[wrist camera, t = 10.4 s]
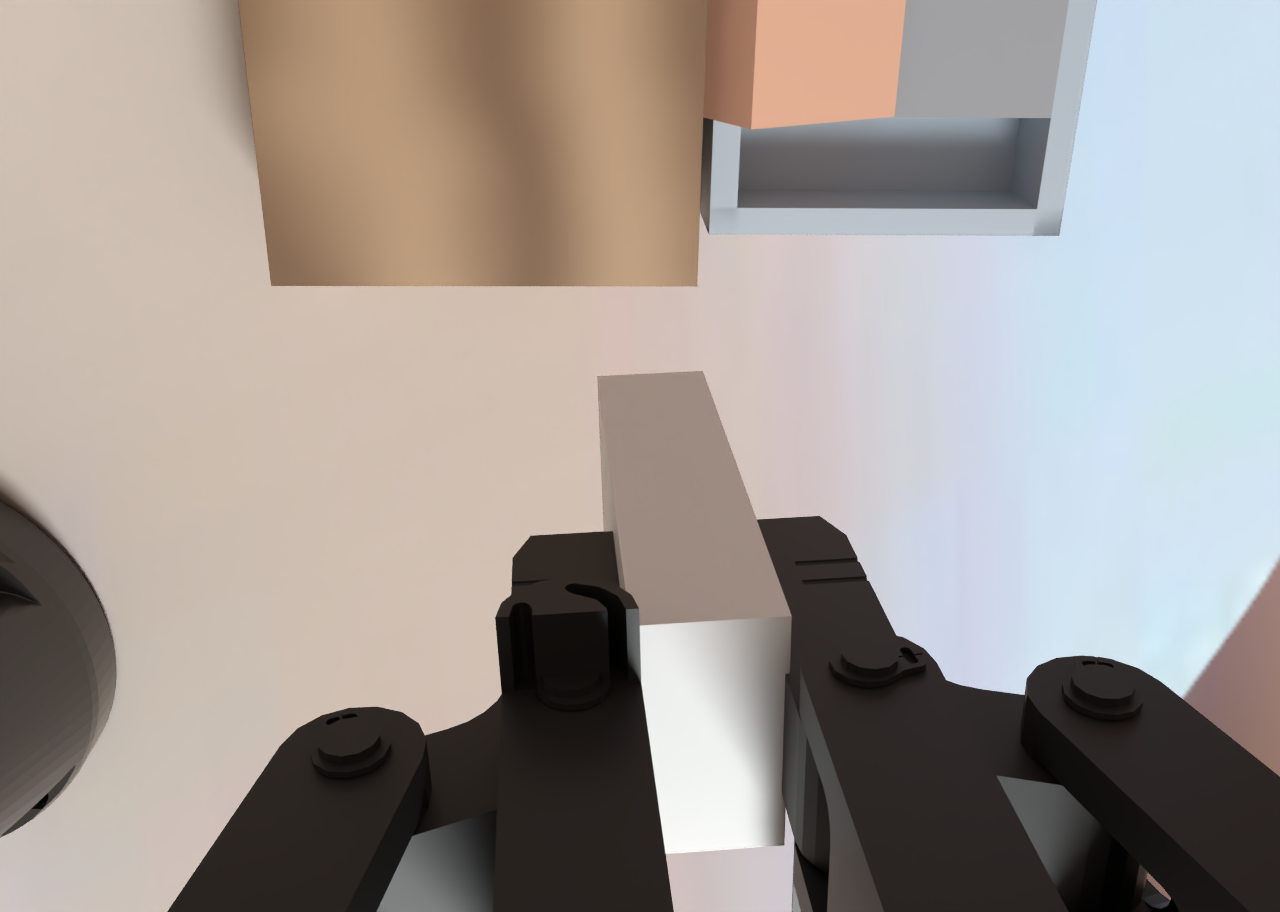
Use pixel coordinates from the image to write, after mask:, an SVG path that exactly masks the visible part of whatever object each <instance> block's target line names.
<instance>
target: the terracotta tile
mask: <svg viewBox="0 0 1280 912" xmlns="http://www.w3.org/2000/svg"><path fill="white" fill-rule="evenodd" d="M905 6H906V0H707V22H706V50H705V78H704V106H703V117H704V118H708V119H712V120H716V121H720V122H724V123H727V124H731V125H735V126H739V127H743V128H747V129H762V128H774V127H785V126H796V125H807V124H818V123H829V122H840V121H851V120H863V119H874V118H885V117H895V107H896V97H897V87H898V77H899V67H900V56H901V46H902V36H903V26H904V16H905Z"/></svg>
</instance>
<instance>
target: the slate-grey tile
mask: <svg viewBox="0 0 1280 912" xmlns="http://www.w3.org/2000/svg"><path fill="white" fill-rule="evenodd" d="M1068 3H1069V0H906V6H905V16H904V26H903V36H902V46H901V56H900V67H899V77H898V87H897V97H896V107H895V117H952V118H1051V115H1052V109H1053V102H1054V96H1055V89H1056V82H1057V76H1058V69H1059V63H1060V56H1061V49H1062V43H1063V36H1064V30H1065V23H1066V17H1067V10H1068Z"/></svg>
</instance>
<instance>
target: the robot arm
mask: <svg viewBox="0 0 1280 912" xmlns="http://www.w3.org/2000/svg"><path fill="white" fill-rule="evenodd" d="M597 378H598V402H599V427H600V451H601V475H602V499H603V523H604V532H589V533H571V534H554V535H537V536H530V537H529V539H528V540H527V541H526V542H525V544H524V545H523V546H522V547H521V548H520V550H519V551H518V552H517V553H516V554H515V556H514V557H513V566H512V593H511V596H509V597H508V598H507V599H506V600H505V601H503V602H502V603H501V605H500V608H499V610H498V613H497V615H496V617H495V619H496V631H497V643H498V654H499V666H500V677H501V689H502V695H501V696H500V698H499V699H498V701H497V702H495V703H494V704H493V705H492V706H491V707H490V708H489V709H487V710H486V711H485V712H484V713H482V714H480V715H479V716H477V717H475V718H473V719H472V720H470V721H468V722H466V723H463V724H460V725H458V726H455V727H452V728H449V729H446V730H443V731H439V732H436V733H432V734H429V735H424V733H423V731H422V729H421V727H420V725H419V723H417V722H416V721H414V720H413V719H411V718H410V717H408V716H407V715H405V714H404V713H402V712H399V711H394V710H389V709H385V708H380V707H362V708H348V709H344V710H340V711H336V712H333V713H329V714H326V715H322V716H320V717H318V718H316V719H314V720H313V721H311V722H309V723H307V724H305V725H303V726H301V727H300V728H298V729H297V730H296V731H295V732H294V733H293V734H292V735H291V736H290V737H289V738H288V739H287V740H286V741H285V742H284V743H283V744H282V745H281V746H280V747H279V748H278V750H277V751H276V753H275V754H274V756H273V757H272V759H271V760H270V762H269V763H268V765H267V766H266V768H265V769H264V771H263V772H262V773H261V775H260V776H259V778H258V779H257V781H256V782H255V784H254V785H253V787H252V788H251V790H250V791H249V793H248V794H247V796H246V797H245V798H244V800H243V801H242V803H241V804H240V806H239V807H238V809H237V810H236V812H235V813H234V815H233V816H232V818H231V819H230V820H229V822H228V823H227V825H226V826H225V828H224V829H223V831H222V832H221V834H220V835H219V837H218V838H217V840H216V841H215V843H214V844H213V845H212V847H211V848H210V850H209V851H208V853H207V854H206V856H205V857H204V859H203V860H202V862H201V863H200V865H199V866H198V868H197V869H196V870H195V872H194V873H193V875H192V876H191V878H190V879H189V881H188V882H187V884H186V885H185V887H184V888H183V890H182V891H181V892H180V894H179V895H178V897H177V898H176V900H175V901H174V903H173V904H172V906H171V907H170V909H169V910H168V912H674V911H673V904H672V897H671V890H670V883H669V875H668V868H667V861H666V854H673V853H686V852H699V851H713V850H726V849H739V848H753V847H766V846H780V845H784V838H785V807H786V810H787V814H788V817H789V821H790V824H791V828H792V832H793V835H794V866H793V893H792V912H1280V777H1279V776H1278V775H1277V774H1276V773H1274V772H1273V771H1272V770H1271V769H1269V768H1268V767H1267V766H1266V765H1264V764H1263V763H1262V762H1261V761H1259V760H1258V759H1257V758H1255V757H1254V756H1253V755H1252V754H1250V753H1249V752H1248V751H1247V750H1246V749H1244V748H1243V747H1242V746H1241V745H1239V744H1238V743H1237V742H1235V741H1234V740H1233V739H1232V738H1231V737H1229V736H1228V735H1227V734H1226V733H1224V732H1223V731H1222V730H1220V729H1219V728H1218V727H1217V726H1216V725H1214V724H1213V723H1212V722H1211V721H1209V720H1208V719H1207V718H1205V717H1204V716H1203V715H1202V714H1200V713H1199V712H1198V711H1197V710H1195V709H1194V708H1193V707H1192V706H1190V705H1189V704H1188V703H1187V702H1185V701H1184V700H1183V699H1182V698H1180V697H1179V696H1178V695H1177V694H1175V693H1174V692H1173V691H1172V690H1170V689H1169V688H1168V687H1167V686H1165V685H1164V684H1163V683H1162V682H1160V681H1159V680H1157V679H1155V678H1154V677H1152V676H1150V675H1149V674H1147V673H1145V672H1144V671H1142V670H1140V669H1138V668H1136V667H1133V666H1130V665H1127V664H1124V663H1121V662H1118V661H1115V660H1112V659H1107V658H1102V657H1098V658H1097V657H1094V656H1073V657H1062V658H1055V659H1053V660H1051V661H1048V662H1046V663H1043V664H1041V665H1038V666H1037V667H1036V668H1035V669H1034V671H1033V672H1032V673H1031V674H1030V675H1029V677H1028V678H1027V681H1026V689H1025V695H1019V694H1012V693H1004V692H997V691H989V690H982V689H977V688H972V687H967V686H962V685H958V684H955V683H952V682H950V681H947V680H946V679H945V677H944V676H943V674H942V672H941V670H940V668H939V666H938V664H937V663H936V661H935V660H934V659H933V658H932V657H931V656H930V655H929V654H928V653H927V651H926V650H925V649H924V648H922V647H920V646H918V645H916V644H915V643H913V642H911V641H909V640H907V639H905V638H903V637H899V636H896V634H895V632H894V630H893V628H892V626H891V624H890V622H889V620H888V618H887V616H886V614H885V612H884V610H883V608H882V606H881V604H880V602H879V600H878V598H877V596H876V594H875V592H874V590H873V588H872V586H871V584H870V582H869V581H867V576H866V574H865V572H864V570H863V568H862V566H861V564H860V562H858V561H857V556H856V554H855V552H854V550H853V548H852V546H851V544H850V542H849V540H848V538H847V536H846V535H845V534H844V533H843V532H841V531H840V530H838V529H837V528H835V527H834V526H833V525H831V524H830V523H828V522H827V521H826V520H824V519H823V518H821V517H820V516H812V517H795V518H778V519H760V520H757V519H756V516H755V514H754V511H753V508H752V505H751V503H750V500H749V497H748V494H747V492H746V489H745V486H744V483H743V481H742V478H741V475H740V472H739V470H738V467H737V464H736V461H735V459H734V456H733V453H732V450H731V448H730V445H729V442H728V439H727V437H726V434H725V431H724V428H723V426H722V423H721V420H720V417H719V415H718V412H717V409H716V406H715V404H714V401H713V398H712V395H711V393H710V390H709V387H708V384H707V382H706V379H705V376H704V373H703V371H695V372H675V373H655V374H635V375H615V376H597ZM115 687H116V658H115V651H114V645H113V641H112V637H111V633H110V630H109V626H108V623H107V620H106V618H105V616H104V613H103V611H102V608H101V606H100V604H99V602H98V600H97V598H96V596H95V595H94V593H93V591H92V589H91V588H90V586H89V585H88V583H87V581H86V580H85V578H84V577H83V576H82V574H81V573H80V571H79V570H78V569H77V567H76V566H75V565H74V564H73V563H72V561H71V560H70V559H69V558H68V556H67V555H66V554H65V553H64V552H63V551H62V550H61V549H60V548H59V547H58V546H57V545H56V544H55V543H54V542H53V541H52V540H51V539H50V538H49V537H48V536H47V535H46V534H45V533H44V532H42V531H41V530H40V529H39V528H37V527H36V526H35V525H34V524H33V523H31V522H30V521H29V520H27V519H26V518H25V517H23V516H22V515H21V514H19V513H18V512H16V511H15V510H13V509H12V508H10V507H9V506H7V505H5V504H4V503H2V502H1V501H0V838H1V837H2V836H4V835H7V834H9V833H11V832H13V831H14V830H16V829H18V828H19V827H21V826H23V825H24V824H26V823H27V822H29V821H30V820H32V819H33V818H34V817H36V816H37V815H38V814H40V813H41V812H42V811H43V810H45V809H46V808H47V807H48V806H50V805H51V804H52V803H53V802H54V801H55V800H56V799H57V798H58V797H59V796H60V795H61V794H62V792H63V791H64V790H65V789H66V788H67V787H68V785H69V784H70V783H71V782H72V781H73V779H74V778H75V776H76V775H77V774H78V772H79V771H80V769H81V767H82V765H83V764H84V762H85V760H86V759H87V757H88V755H89V754H90V752H91V750H92V748H93V747H94V745H95V743H96V742H97V740H98V738H99V736H100V735H101V733H102V731H103V729H104V727H105V725H106V722H107V720H108V717H109V714H110V711H111V708H112V704H113V700H114V695H115ZM1148 873H1149V874H1150V875H1151V876H1152V877H1153V878H1154V879H1155V880H1156V881H1157V882H1158V883H1159V884H1160V885H1161V886H1162V887H1163V888H1164V889H1165V891H1166V892H1167V893H1168V894H1169V896H1170V897H1171V900H1168V899H1167V898H1166V897H1165V896H1164V895H1162V894H1161V893H1160V892H1159V891H1158V890H1157V889H1156V888H1155V887H1154V886H1153V885H1152V884H1151V883H1150V882H1149V881H1148V880H1147V874H1148Z"/></svg>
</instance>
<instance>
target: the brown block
mask: <svg viewBox="0 0 1280 912" xmlns="http://www.w3.org/2000/svg"><path fill="white" fill-rule="evenodd" d="M238 3H239V11H240V20H241V29H242V37H243V46H244V54H245V63H246V72H247V80H248V89H249V98H250V106H251V115H252V124H253V132H254V141H255V149H256V158H257V167H258V175H259V184H260V193H261V201H262V210H263V219H264V227H265V236H266V244H267V253H268V262H269V270H270V279H271V286H697V275H698V247H699V219H700V191H701V163H702V135H703V106H704V78H705V50H706V22H707V0H238Z"/></svg>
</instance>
